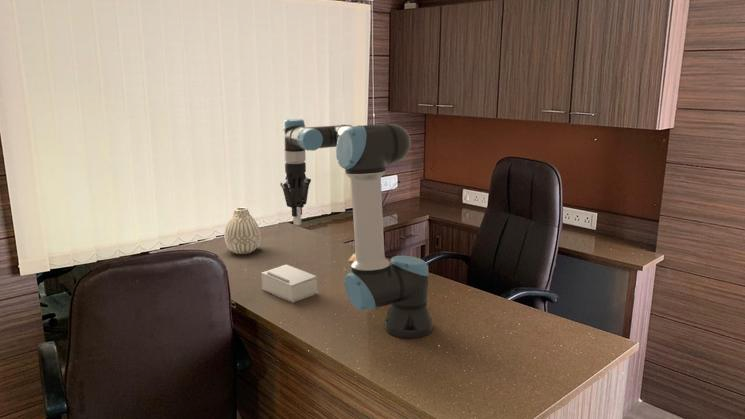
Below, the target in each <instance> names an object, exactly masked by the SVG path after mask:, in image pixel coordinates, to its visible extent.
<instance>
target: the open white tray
mask: <svg viewBox="0 0 745 419" xmlns="http://www.w3.org/2000/svg"><path fill="white" fill-rule="evenodd" d="M317 281H318V278H315V279H312V280H309V281H306V282H304V283H301V284H298V285H296V286H293V287H290V286H288V285H286V284H283V283H281V282H279V281H276V280H274V279H272V278H269V277H267V276H265V275H262V274H261V286H262V287H261V289H262V290H263V291H265V292H267V293H269V294H271V293H272V294H271V295H274V296H276V297H278V298H280V299H282V300H284V301H287V302H289V303H291V304H294V303H296V302H299V301H302V300H304V299H307V298H309V297H312V296H315V295H318V294H319V291H318V282H317Z"/></svg>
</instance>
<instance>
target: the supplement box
mask: <svg viewBox="0 0 745 419" xmlns="http://www.w3.org/2000/svg"><path fill="white" fill-rule="evenodd" d="M355 259H356V254H355V253H352V255H350V257H349V259H348V260H347V274H349V273H351V264H352V263H353V262H354V261H355Z"/></svg>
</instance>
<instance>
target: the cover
mask: <svg viewBox="0 0 745 419" xmlns="http://www.w3.org/2000/svg"><path fill="white" fill-rule="evenodd" d="M260 274H261V276H262V275H265V276H267V277H269V278H272V279H274V280H276V281H279V282H281V283H283V284H286V285H288V286H290V287H293V286H296V285H298V284H301V283H304V282H306V281H309V280H312V279H315V278H317V275H314V274H311V273H310V272H308V271H304V270H302V269H299V268H296V267H294V266H293V265H292V266H291V265H290V264H283V265H281V266H280V265H279V266H277V267H274V268H272V269H268V270H265V271H263V272H261V273H260ZM317 279H318V278H317Z"/></svg>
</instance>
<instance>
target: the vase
mask: <svg viewBox="0 0 745 419" xmlns="http://www.w3.org/2000/svg"><path fill="white" fill-rule="evenodd" d="M261 233H262V232H261V229H260V227H259V224H258V222H257V221H256V220H255V219H254V217H253V215H251V214H250V211H249V209H248V207H244V206H243V207H242V206H240V207H238V206H237V207H235V208H234V210H233V214H232V216H231V218H230V219H229V221H228V222H227V224H226V226H225V228H224V236H223V237H224V243H225V244H226V247H227V248H228V249H229V251H231V252H232V253H233V254H236V255H248V254H251V253H253V252H254V251H255V250H256V249H257V248H258V247H259V245H260V243H261V240H262V239H261V238H262V234H261Z"/></svg>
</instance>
